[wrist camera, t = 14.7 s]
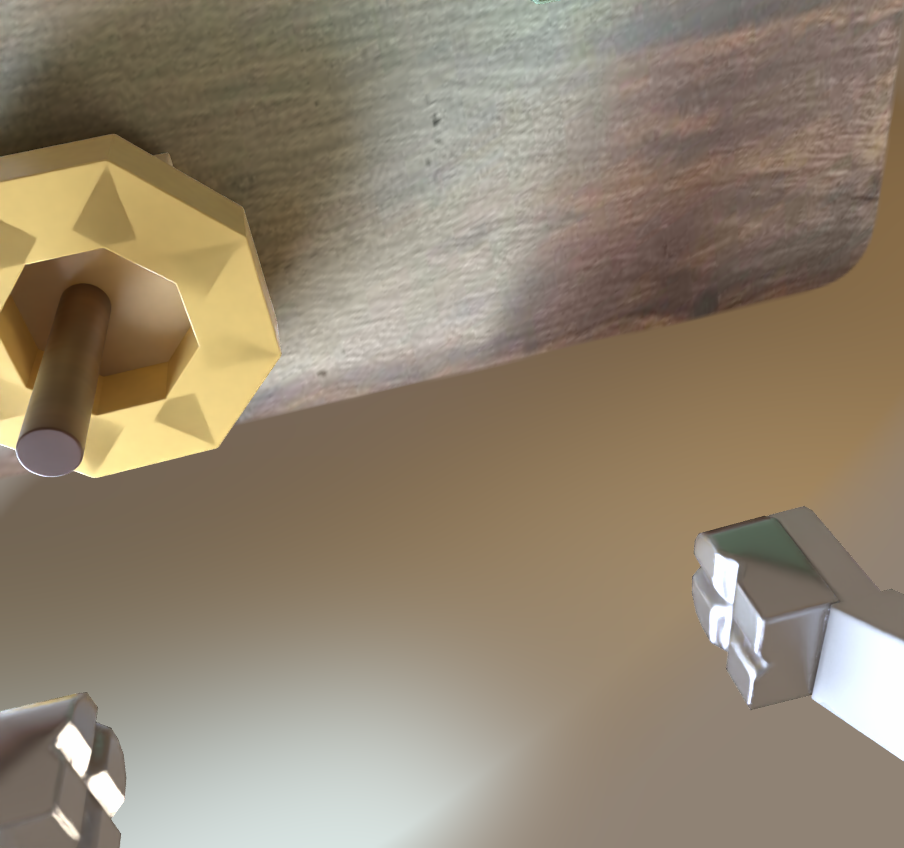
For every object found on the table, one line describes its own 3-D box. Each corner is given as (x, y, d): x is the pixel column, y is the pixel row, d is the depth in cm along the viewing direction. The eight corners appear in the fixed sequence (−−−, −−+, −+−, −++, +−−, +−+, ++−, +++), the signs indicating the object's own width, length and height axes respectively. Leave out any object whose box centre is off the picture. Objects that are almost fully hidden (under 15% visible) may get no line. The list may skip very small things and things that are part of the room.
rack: (168, 151, 31) (154, 281, 22) (235, 357, 37) (245, 526, 28) (-87, 201, 30) (-205, 358, 21) (21, 405, 36) (-39, 597, 27)
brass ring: (215, 112, 29) (216, 136, 27) (297, 390, 36) (303, 427, 34) (-140, 184, 28) (-170, 216, 26) (16, 457, 35) (4, 501, 33)
